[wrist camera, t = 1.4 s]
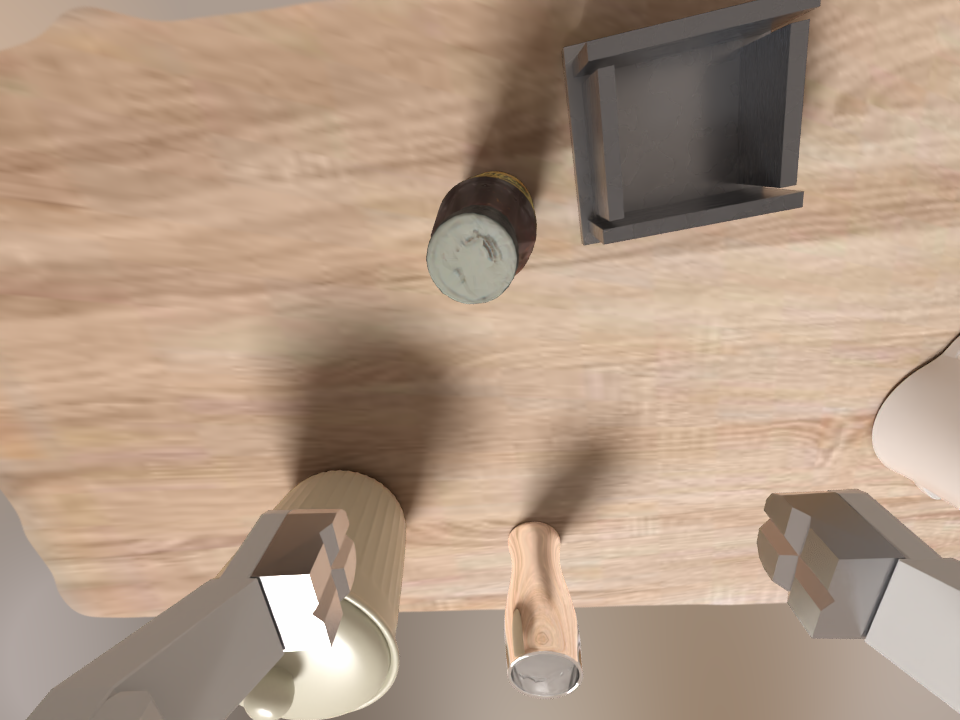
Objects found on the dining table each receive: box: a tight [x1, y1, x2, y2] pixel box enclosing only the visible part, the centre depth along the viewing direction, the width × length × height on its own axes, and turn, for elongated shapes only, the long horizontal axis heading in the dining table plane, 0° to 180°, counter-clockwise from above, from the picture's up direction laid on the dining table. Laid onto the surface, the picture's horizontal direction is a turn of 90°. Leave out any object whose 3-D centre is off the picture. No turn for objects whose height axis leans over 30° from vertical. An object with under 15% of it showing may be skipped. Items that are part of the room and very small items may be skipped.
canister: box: [201, 470, 406, 720], centre depth 42 cm, size 18×18×21 cm
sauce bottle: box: [426, 171, 537, 304], centre depth 28 cm, size 6×6×20 cm
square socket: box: [562, 0, 821, 245], centre depth 31 cm, size 14×14×7 cm
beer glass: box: [504, 522, 583, 699], centre depth 45 cm, size 7×7×15 cm
